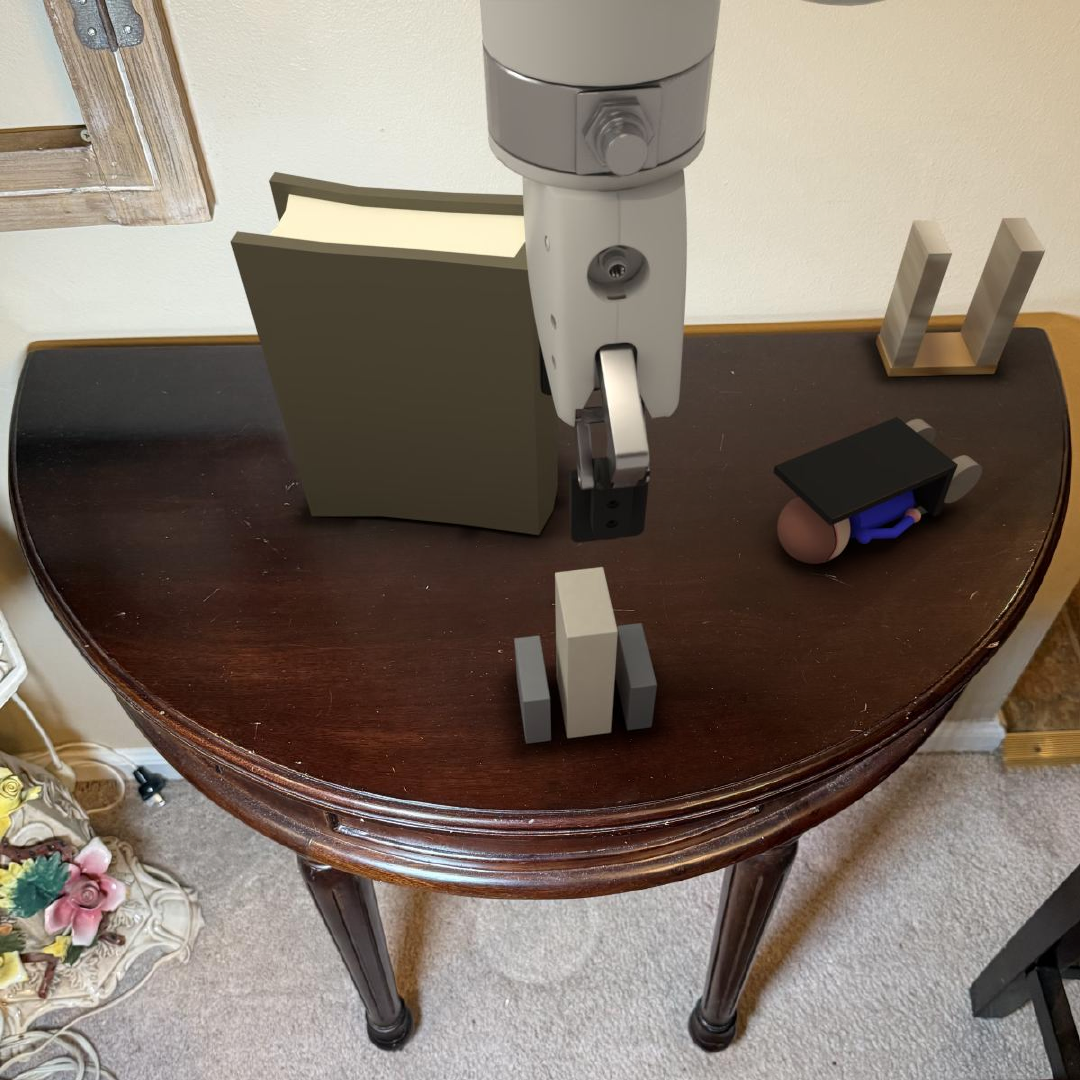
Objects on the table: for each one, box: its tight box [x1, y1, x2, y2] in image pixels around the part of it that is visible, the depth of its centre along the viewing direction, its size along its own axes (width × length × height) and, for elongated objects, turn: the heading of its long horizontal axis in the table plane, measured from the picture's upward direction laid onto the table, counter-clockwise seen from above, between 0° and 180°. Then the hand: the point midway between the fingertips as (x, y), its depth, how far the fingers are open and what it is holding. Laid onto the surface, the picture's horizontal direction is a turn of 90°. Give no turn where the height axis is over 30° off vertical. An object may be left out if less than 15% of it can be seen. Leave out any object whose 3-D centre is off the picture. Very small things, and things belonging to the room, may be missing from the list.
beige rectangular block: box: [554, 566, 618, 739], centre depth 58 cm, size 3×5×11 cm, turn 8°
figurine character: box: [773, 416, 983, 565], centre depth 70 cm, size 7×8×15 cm
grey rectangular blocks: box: [513, 622, 658, 744], centre depth 61 cm, size 8×5×5 cm, turn 98°
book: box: [229, 171, 559, 536], centre depth 66 cm, size 18×8×24 cm, turn 81°
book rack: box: [875, 217, 1046, 378], centre depth 80 cm, size 9×5×12 cm, turn 91°
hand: (588, 456), depth 46 cm, fingers open, 9 cm apart
